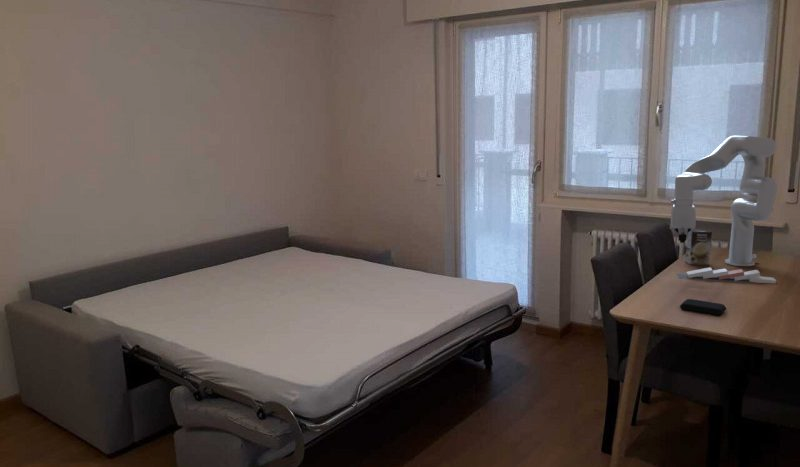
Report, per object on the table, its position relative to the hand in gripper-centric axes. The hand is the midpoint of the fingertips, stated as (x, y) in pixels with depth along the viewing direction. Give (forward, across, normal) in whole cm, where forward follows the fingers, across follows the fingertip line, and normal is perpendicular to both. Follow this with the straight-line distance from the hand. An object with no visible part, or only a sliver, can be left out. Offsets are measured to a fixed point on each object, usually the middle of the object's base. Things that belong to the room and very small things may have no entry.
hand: (682, 242), depth 281 cm
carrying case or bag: (+13, +1, -56) cm, 57 cm away
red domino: (+13, +14, -9) cm, 21 cm away
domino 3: (+13, +20, -9) cm, 26 cm away
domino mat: (+14, +13, -9) cm, 21 cm away
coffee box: (+15, +10, +20) cm, 27 cm away
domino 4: (+14, +26, -9) cm, 30 cm away
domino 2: (+13, +8, -9) cm, 17 cm away
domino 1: (+13, +2, -9) cm, 16 cm away
